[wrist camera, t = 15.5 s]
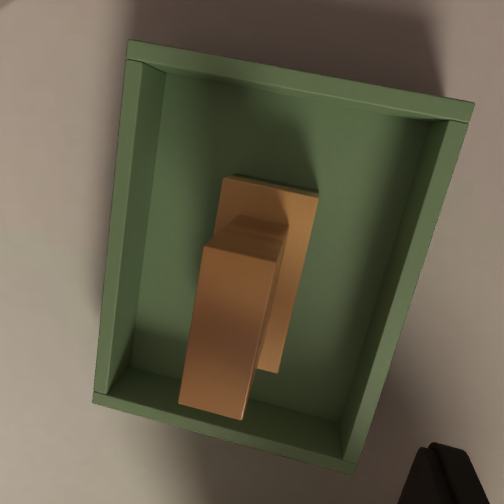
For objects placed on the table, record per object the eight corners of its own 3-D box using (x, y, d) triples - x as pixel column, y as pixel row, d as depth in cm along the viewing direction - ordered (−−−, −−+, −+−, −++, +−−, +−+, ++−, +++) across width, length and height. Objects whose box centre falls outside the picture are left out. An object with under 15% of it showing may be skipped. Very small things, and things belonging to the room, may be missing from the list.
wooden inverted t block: (235, 172, 21) (179, 191, 13) (319, 190, 21) (320, 222, 12) (208, 327, 24) (145, 431, 15) (282, 346, 23) (261, 463, 15)
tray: (159, 56, 21) (126, 38, 18) (447, 110, 20) (476, 102, 16) (122, 367, 26) (91, 403, 23) (348, 428, 25) (354, 476, 21)
